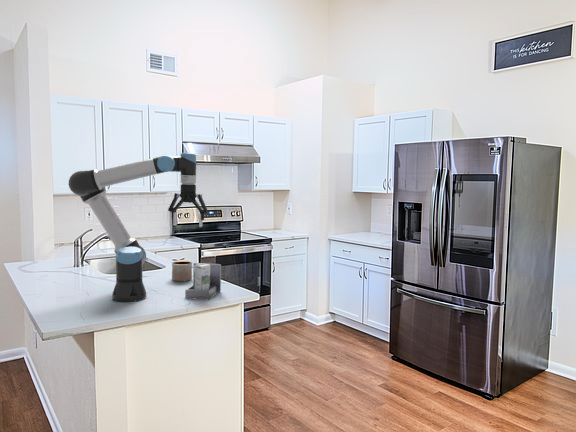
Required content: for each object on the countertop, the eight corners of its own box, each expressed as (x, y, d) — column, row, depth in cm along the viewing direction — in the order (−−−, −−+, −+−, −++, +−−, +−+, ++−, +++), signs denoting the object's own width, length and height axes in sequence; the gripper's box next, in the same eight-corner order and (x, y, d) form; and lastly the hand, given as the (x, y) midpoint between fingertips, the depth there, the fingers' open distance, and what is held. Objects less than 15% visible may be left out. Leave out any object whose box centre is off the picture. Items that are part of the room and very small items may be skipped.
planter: (177, 282, 247) (177, 265, 246) (168, 279, 255) (168, 262, 254) (195, 280, 254) (195, 263, 253) (185, 276, 262) (186, 260, 261)
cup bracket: (182, 297, 218) (183, 268, 217) (194, 289, 234) (194, 262, 232) (211, 299, 216) (211, 270, 215) (220, 291, 232) (221, 264, 230)
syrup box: (201, 291, 227) (202, 262, 226) (210, 293, 223) (210, 264, 222) (193, 293, 222) (193, 264, 221) (201, 295, 219) (201, 266, 218)
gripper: (161, 183, 227) (161, 225, 229) (209, 185, 223) (209, 228, 225) (167, 183, 235) (167, 224, 237) (214, 184, 231) (213, 226, 233)
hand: (187, 226), depth 231 cm, fingers open, 13 cm apart
